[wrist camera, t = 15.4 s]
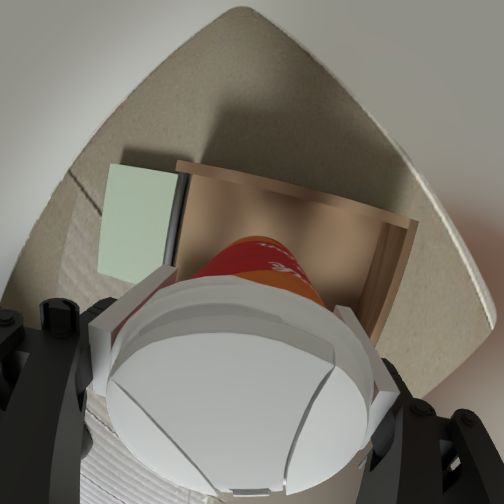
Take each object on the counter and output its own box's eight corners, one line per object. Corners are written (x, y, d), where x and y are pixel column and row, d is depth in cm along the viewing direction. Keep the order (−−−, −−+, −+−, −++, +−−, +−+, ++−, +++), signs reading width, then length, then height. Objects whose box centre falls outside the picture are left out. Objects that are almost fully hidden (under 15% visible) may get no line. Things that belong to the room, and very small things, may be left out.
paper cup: (318, 319, 20) (370, 490, 6) (212, 332, 21) (150, 497, 7) (306, 208, 18) (399, 268, 5) (190, 226, 19) (44, 309, 5)
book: (169, 288, 28) (104, 269, 28) (190, 174, 25) (119, 162, 25) (164, 294, 26) (97, 273, 26) (185, 173, 24) (111, 161, 24)
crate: (174, 297, 28) (151, 326, 22) (198, 165, 25) (177, 159, 19) (347, 335, 28) (364, 371, 22) (386, 213, 25) (418, 221, 19)
